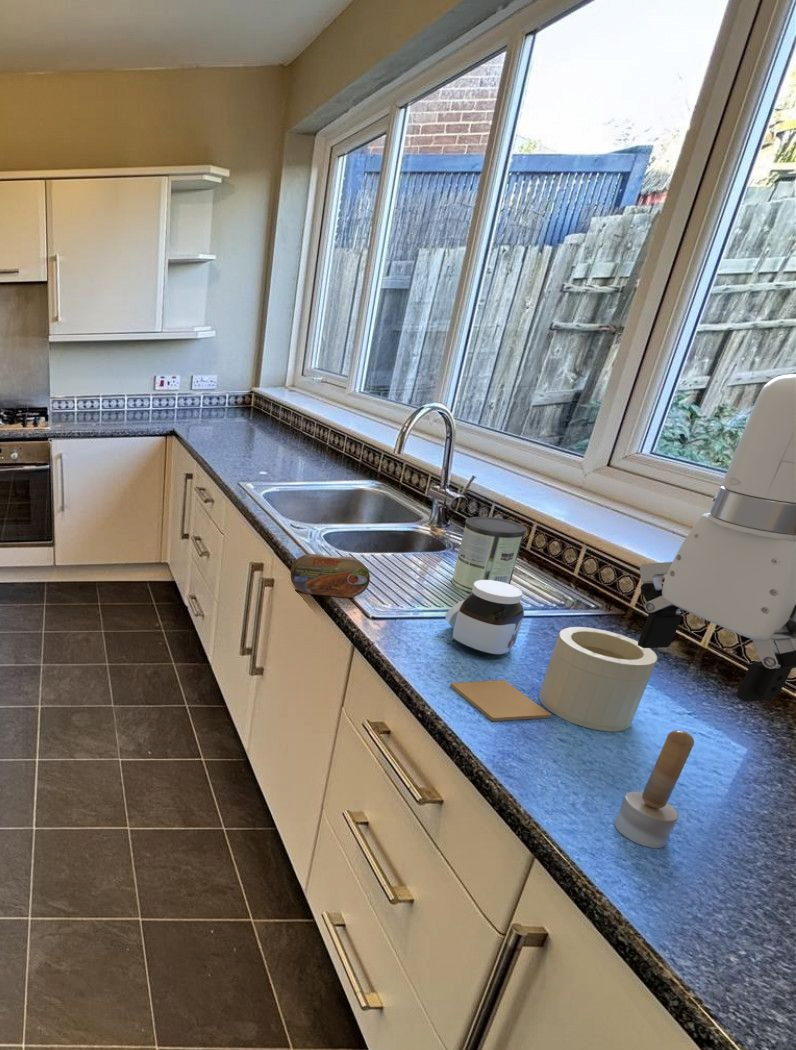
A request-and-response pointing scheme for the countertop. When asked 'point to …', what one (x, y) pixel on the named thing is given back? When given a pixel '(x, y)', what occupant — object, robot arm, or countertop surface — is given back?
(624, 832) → the round handled stamp
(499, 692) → the mat
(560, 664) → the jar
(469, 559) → the coffee can
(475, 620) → the spread jar
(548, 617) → the countertop surface
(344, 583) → the tin
